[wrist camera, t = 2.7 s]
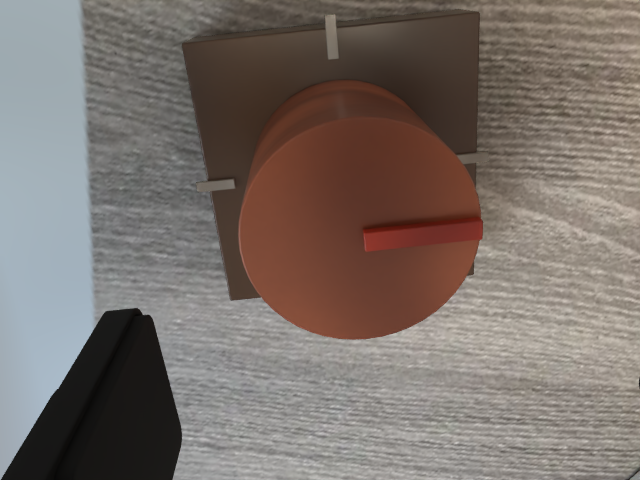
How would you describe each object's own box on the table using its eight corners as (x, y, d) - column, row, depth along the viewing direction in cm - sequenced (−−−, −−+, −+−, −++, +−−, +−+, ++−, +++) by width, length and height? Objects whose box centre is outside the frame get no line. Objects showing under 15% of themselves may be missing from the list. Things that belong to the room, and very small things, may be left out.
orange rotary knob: (265, 260, 22) (256, 357, 16) (239, 90, 19) (216, 134, 13) (432, 242, 22) (482, 333, 16) (430, 69, 19) (489, 104, 13)
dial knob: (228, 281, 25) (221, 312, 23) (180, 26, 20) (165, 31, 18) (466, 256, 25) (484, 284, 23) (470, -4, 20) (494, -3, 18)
